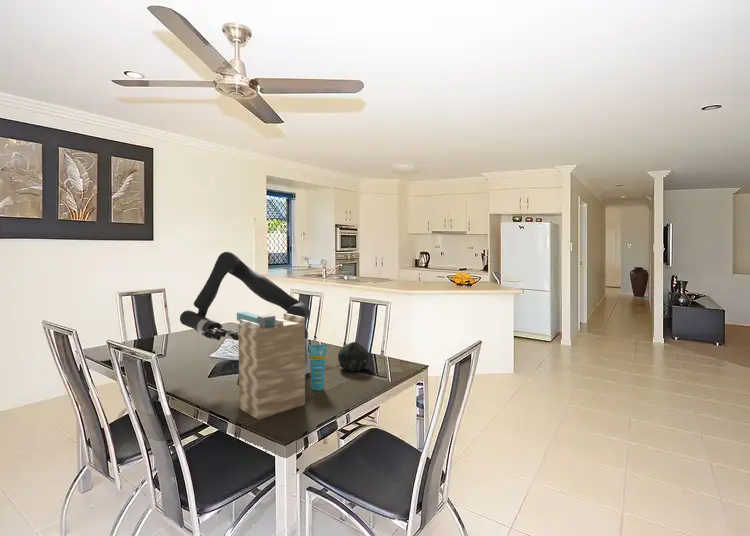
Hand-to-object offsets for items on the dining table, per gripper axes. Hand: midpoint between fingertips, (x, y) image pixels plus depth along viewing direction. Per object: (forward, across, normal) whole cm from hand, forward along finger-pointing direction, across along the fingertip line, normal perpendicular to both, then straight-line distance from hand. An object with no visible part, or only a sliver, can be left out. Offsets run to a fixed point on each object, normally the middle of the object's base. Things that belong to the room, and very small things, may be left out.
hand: (229, 338), depth 173 cm
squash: (+22, +58, +9) cm, 63 cm away
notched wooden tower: (+30, +6, +18) cm, 36 cm away
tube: (+29, +29, +14) cm, 43 cm away
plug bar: (+22, -5, -11) cm, 25 cm away
